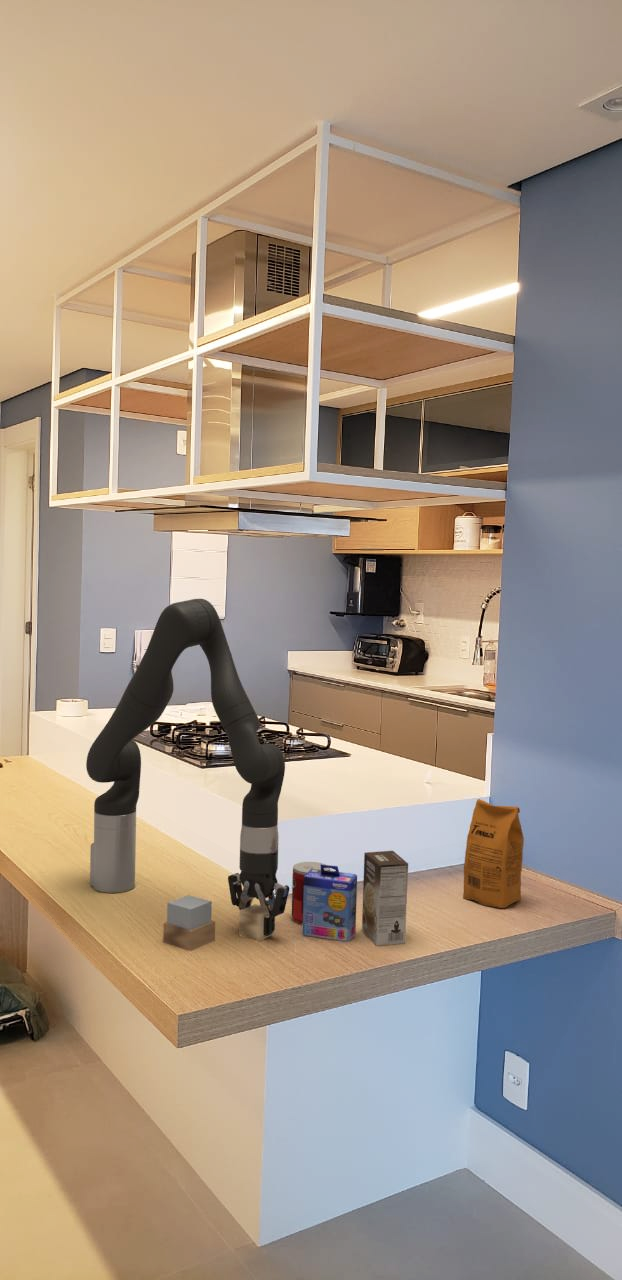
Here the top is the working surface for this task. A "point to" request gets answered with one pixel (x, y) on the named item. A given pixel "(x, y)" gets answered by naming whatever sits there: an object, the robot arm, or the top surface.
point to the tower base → (189, 935)
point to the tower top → (189, 912)
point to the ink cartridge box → (329, 904)
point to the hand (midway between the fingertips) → (256, 931)
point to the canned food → (300, 887)
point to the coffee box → (384, 897)
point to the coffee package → (494, 856)
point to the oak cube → (252, 922)
